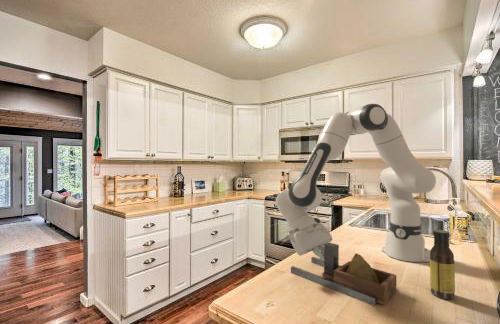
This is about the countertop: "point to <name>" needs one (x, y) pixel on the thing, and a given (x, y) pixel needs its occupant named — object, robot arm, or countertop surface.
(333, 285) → the rails
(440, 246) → the sauce bottle
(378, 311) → the countertop surface
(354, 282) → the sled
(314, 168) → the robot arm
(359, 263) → the rock
